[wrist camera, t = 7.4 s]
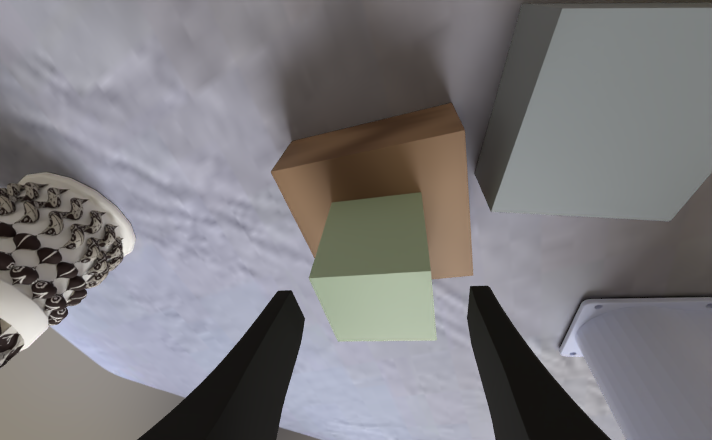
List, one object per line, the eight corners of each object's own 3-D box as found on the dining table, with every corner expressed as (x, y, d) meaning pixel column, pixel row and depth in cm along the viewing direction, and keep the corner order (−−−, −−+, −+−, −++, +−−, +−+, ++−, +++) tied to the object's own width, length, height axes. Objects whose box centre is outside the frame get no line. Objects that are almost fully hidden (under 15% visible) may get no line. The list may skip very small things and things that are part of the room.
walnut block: (450, 100, 15) (464, 130, 12) (461, 231, 20) (473, 275, 17) (293, 138, 17) (270, 171, 14) (339, 247, 22) (330, 288, 19)
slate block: (729, 2, 12) (852, 7, 8) (618, 177, 17) (670, 221, 13) (519, 3, 12) (562, 8, 9) (473, 171, 17) (491, 211, 14)
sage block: (421, 192, 14) (430, 271, 10) (427, 257, 17) (436, 340, 13) (331, 202, 15) (308, 278, 11) (350, 263, 18) (337, 341, 14)
